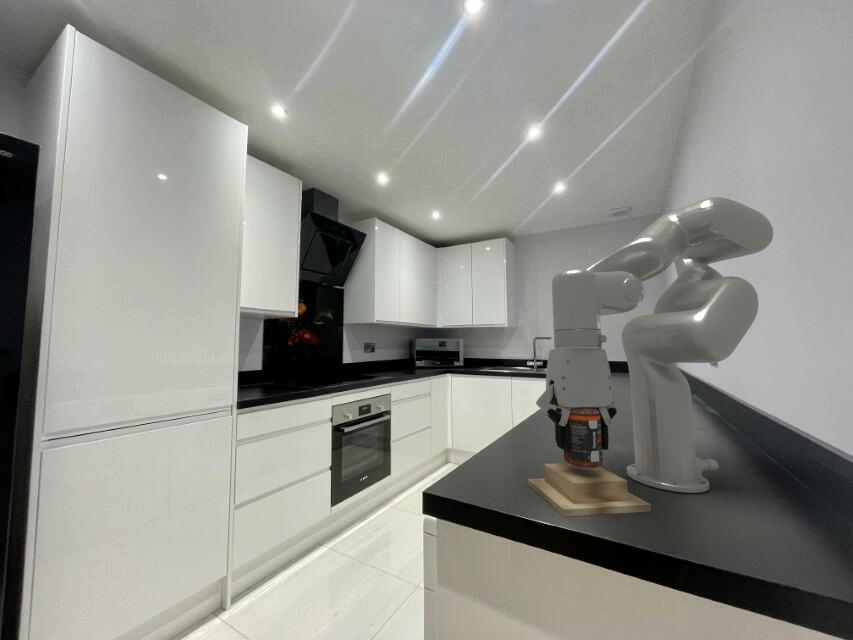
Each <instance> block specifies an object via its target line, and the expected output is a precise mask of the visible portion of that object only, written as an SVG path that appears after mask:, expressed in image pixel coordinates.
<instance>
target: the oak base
mask: <svg viewBox="0 0 853 640" xmlns="http://www.w3.org/2000/svg"><path fill="white" fill-rule="evenodd" d="M543 467H544V468H543V469H544V473H543V474H544V477H542V478H541V477H540V478H527V486H529V488H530V489H532V490H533V491H534V492H536V493H537V495H539V496H540V497H541V498H542V499H544V500H545V501H546V502H547V503H548V504H549V505H550V506H552V508H553V509H555V510H556V512H558V513H559V514H560V515H561V516H562V517H563V518H567V517H582V516H586V517H587V516H599V515H613V514H614V515H615V514H616V515H617V514H630V513H631V514H633V513H648V512H652V505H651V504H650V503H649V502H647V501H645V500H643V499H642V498H640V497H638V496H636V495H634V494H632V493H630V492H629V491H628V490H629V489H628V481H627V479H625V478H623V477H621V476H619V475H617V474H615V473H613V472H611V471H610V470H606V468H603V467H601V466H600V467H597V468H584V467H578V466H574V465H571V464H569V463H567V462H560V463H559V462H558V463H543Z"/></svg>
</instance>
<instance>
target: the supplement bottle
mask: <svg viewBox="0 0 853 640" xmlns="http://www.w3.org/2000/svg"><path fill="white" fill-rule="evenodd" d="M567 426H569V427H570V436H571V450H570V451H565V450H563V459H564V461H565V463H569V464H571V465H574V466H578V467H584V468H597V467H601V466H602V465H603V458H604V457H603V456H604V455H603V449H602V437H601V420H600V412H599V410H598V409H596V408H593V407H583V408H578V409H571V411H570V414H569V417H568V421H567Z"/></svg>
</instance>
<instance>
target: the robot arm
mask: <svg viewBox="0 0 853 640" xmlns="http://www.w3.org/2000/svg"><path fill="white" fill-rule="evenodd" d="M773 238H774V228H773V225H772V223H771V222H770V220H769V219H768V217H766V216H765V215H764V214H763V213H761V212H760V211H758V210H756V209H754V208H751V207H749V206H748V205H746V204H742V203H741V202H738V201H736V200H733V199H730V198H726V197H720V196H712V197H707V198H704V199H701V200H699V201H695V202H693V203H691V204H688V205H684V206H683V207H680V208H678V209H675V210H672V211H670V212H667V213H666V214H663V215H661V216H660V217H658V218H657V219H656V220H655V221H653V222H652V223H651V224H650V225H649V226H647V228H645V229H644V230H643V231H642V232H640V233H639V234H638V235H637V236H636V237H635V238H634V239H633V240H631V241H630V242H629V243H628V244H626V245H623V246H622V247H620V248H619V249H617V250H615V251H613V252H612V253H611V254H609V255H608V256H606V257H604V258H602V259H601V260H599V261H597V262H595V263H594V264H592V265H591V266H590V267H588V268H586V269H585V268H583V269H582V268H580V269H570V270H569V269H568V270H564V271H561V272H558V273H556V275H554V276H553V278H552V281H551V297H552V299H551V300H552V319H553V320H552V322H553V325H552V326H553V339H554V340H553V341H554V342H553V343H554V345H553V347H554V349H552V348H551V349H549V352H548V357H547V364H546V374H545V391H544V392H543V393H542V394H541V395H540V396H539V397H538V399H537V400H536V403H535V404H536V406H538V407H539V409H540V410H541V411H543V412H544V414H545V415H546V416H547V417H548V418H549V419H550V420H551V422H552V423H553V424H554V434H555V437H554V438H555V443H556V446H557V448H559V449H561V450H562V451H564V450H565V451H570V450H571V436H570V427H569V426H567V421H568V417H569V414H570V411H571V409H578V408H583V407H593V408H596V409H598V410H599V412H600V420H601V437H602V451H607V450H609V442H610V441H609V425H612V420H613V418H614V417H615V416H616V415H617V414H618V413H617V411H618V410H620V409H621V407H622V406H623V405H624V403H625V402H624V400H623V398H622V397H620V396H619V395H618V393H616V392H615V390H614V389H613V381H612V374H611V373H612V372H611V368H610V363H609V359H608V355H607V353H606V349H605V348H603V343H607V341H608V340H607V336H606V335H604V334H602V327H601V326H602V325H601V316H610V315H611V316H612V315H619V314H624V313H629V312H630V311H632V310H634V309H637V308H638V307H639V306H640V305H641V303H642V302H643V300H644V298H645V287H644V285H643V282H645V281H648V280H650V279H653V278H654V277H656V276H659V275H660V274H662V273H663V272H665V271H666V270H667V269H668V268H669V267H670V266H671V265H672V264H673V263H674V267H675V271H676V274H677V277H676V279H674V281H673V282H672V283H671V284H670V285H669V286H668V288H667V289H666V290H665V291H664V292H663V293H662V294H661V295H660V297H659V298H658V300H657V301H656V303H655V305H654V309H653V313H651V314H645V315H640V316H637V317H634V318H632V319H630V320H629V321H628V322H627V323H626V324H625V325H624V327H623V328H622V331H621V343H622V347H623V351H624V354H625V358H626V362H627V366H628V372H629V373H628V375H629V382H630V383H629V384H630V399H631V400H630V402H631V416H632V431H633V432H632V434H633V448H634V463H632V464H629V465H627V466H626V474H627V475H628V477H629V478H631V479H632V480H634V481H635V482H638V483H641V484H643V485H646V486H649V487H653V488H656V489H660V490H664V491H665V490H666V491H669V492H677V493H685V494H691V493H692V494H696V493H699V494H700V493H704V492H707V491H708V490H710V489H711V488H710V487H711V486H710V481H709V480H708V478H706V477H704V476H703V473H704V472H705V471H708V472H709V471H710V472H711V471H717V470H719V468H720V467H719V463H718V462H717V461H716V460H715V459H712V458H710V459H702V458H700V457H697V456H696V455H697V454H696V453H697V452H696V444H695V431H694V421H693V420H694V419H693V406H692V392H691V391H692V390H691V387H690V384H689V381H688V379H687V378H686V376H685V375H684V374H683V372H682V371H681V370H680V369H679V367H678V366H677V364H678V363H681V364H685V363H687V364H692V363H693V364H710V363H711V364H714V363H718V362H721V361H722V362H723V361H724V360H726V359H727V358H729V357H730V356H731V355H732V353H734V351H735V350H736V349H737V347H738V346H739V344H740V343H741V341H742V340H743V338H744V337H745V335H747V332H748V331H749V329H750V328H751V327H752V325H753V323H754V322H755V320H756V318H757V314H758V310H759V297H758V293H757V290H756V289H755V287H754V286H753V284H752V283H751V282H750V281H748V280H747V279H744V278H742V277H739V276H723V275H722V274H721V273H720V272H719V271H718V270H716V269H715V268H714V267H712V266H710V264H714V263H718V262H722V261H726V260H732V259H735V258H740V257H745V256H750V255H754V254H758V253H760V252H762V251H763V250H765V249H766V248H768V247H769V246H770V244H771V243H772V241H773ZM552 406H555V407H554V408H553V407H552Z"/></svg>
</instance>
